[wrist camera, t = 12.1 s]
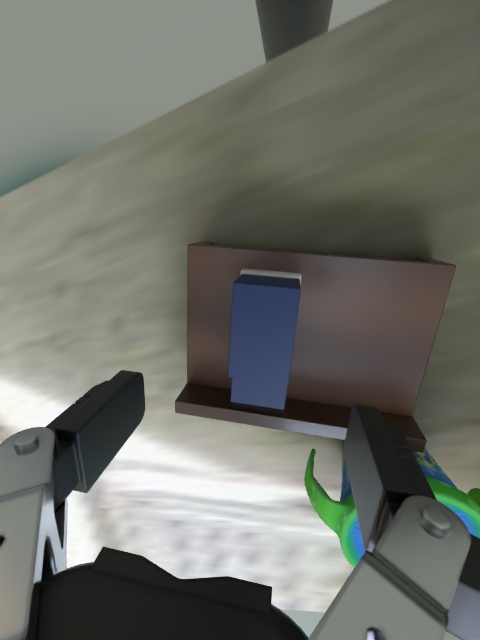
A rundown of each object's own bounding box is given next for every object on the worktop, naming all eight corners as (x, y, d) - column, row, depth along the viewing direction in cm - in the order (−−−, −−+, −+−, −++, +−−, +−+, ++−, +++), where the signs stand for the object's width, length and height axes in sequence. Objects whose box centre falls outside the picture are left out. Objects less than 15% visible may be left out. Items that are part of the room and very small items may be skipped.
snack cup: (291, 462, 34) (290, 556, 24) (322, 384, 30) (335, 460, 21) (429, 508, 32) (486, 627, 23) (479, 433, 29) (571, 537, 19)
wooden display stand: (201, 241, 28) (173, 247, 21) (432, 258, 25) (481, 271, 18) (199, 374, 32) (175, 412, 26) (394, 401, 29) (423, 453, 23)
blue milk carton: (243, 268, 24) (231, 279, 19) (301, 273, 23) (303, 285, 19) (235, 387, 27) (224, 420, 23) (285, 395, 27) (284, 430, 22)
